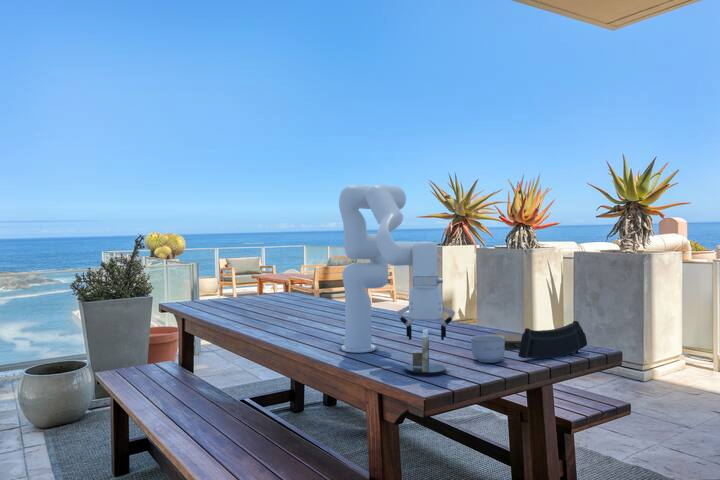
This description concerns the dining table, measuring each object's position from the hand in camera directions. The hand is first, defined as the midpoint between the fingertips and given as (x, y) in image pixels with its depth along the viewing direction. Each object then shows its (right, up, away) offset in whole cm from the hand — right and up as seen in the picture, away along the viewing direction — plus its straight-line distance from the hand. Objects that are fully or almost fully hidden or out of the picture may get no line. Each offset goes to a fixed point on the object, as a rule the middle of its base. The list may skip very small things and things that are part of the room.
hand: (426, 339), depth 151 cm
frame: (-2, -8, 0) cm, 8 cm away
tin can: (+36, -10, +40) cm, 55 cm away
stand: (0, -10, 0) cm, 10 cm away
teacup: (+23, -10, +14) cm, 29 cm away
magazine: (+46, -10, +20) cm, 51 cm away
